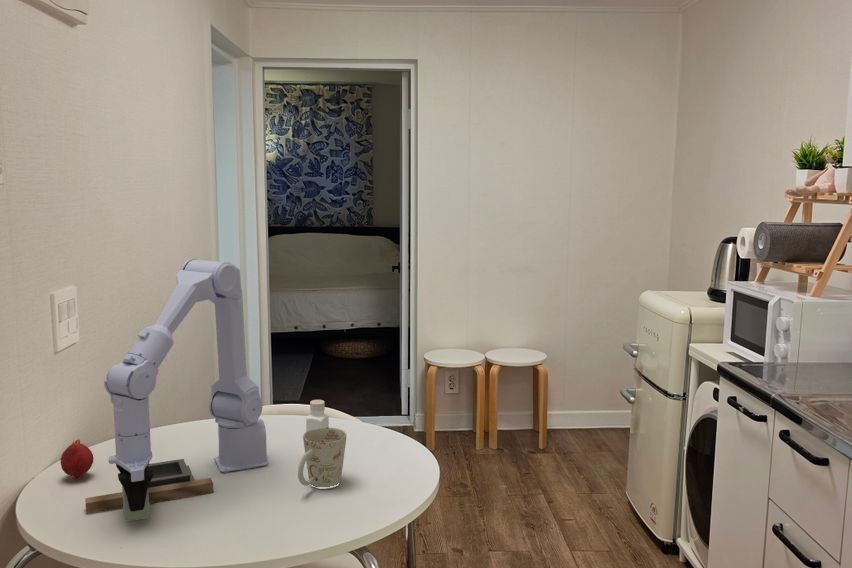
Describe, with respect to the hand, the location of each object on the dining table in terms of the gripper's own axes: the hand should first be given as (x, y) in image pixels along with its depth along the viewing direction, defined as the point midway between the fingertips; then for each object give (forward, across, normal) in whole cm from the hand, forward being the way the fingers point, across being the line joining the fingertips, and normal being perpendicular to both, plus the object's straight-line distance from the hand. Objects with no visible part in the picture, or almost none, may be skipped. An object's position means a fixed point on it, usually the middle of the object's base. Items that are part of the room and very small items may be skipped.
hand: (135, 504), depth 132 cm
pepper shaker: (+2, -21, +40) cm, 45 cm away
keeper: (+2, -12, +6) cm, 14 cm away
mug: (+2, +2, +33) cm, 33 cm away
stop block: (+2, 0, 0) cm, 2 cm away
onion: (+2, -21, -9) cm, 23 cm away
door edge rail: (+2, -5, +3) cm, 6 cm away
